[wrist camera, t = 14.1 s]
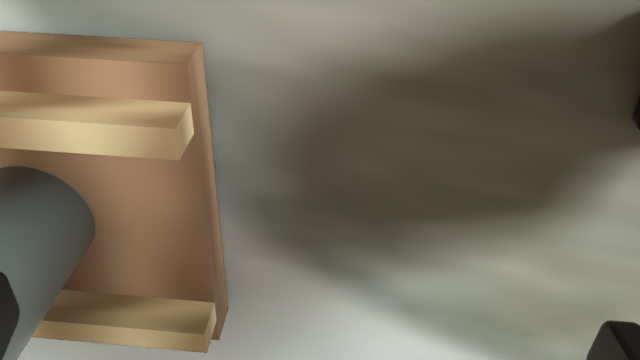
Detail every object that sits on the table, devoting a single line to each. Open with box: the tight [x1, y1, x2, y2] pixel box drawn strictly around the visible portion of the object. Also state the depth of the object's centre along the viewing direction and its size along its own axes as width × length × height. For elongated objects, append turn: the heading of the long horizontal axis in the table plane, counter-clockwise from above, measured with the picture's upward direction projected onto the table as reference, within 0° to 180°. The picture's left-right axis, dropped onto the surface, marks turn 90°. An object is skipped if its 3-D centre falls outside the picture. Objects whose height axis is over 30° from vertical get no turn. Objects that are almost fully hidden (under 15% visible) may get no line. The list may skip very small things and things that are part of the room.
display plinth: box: [0, 31, 228, 353], centre depth 23 cm, size 12×14×4 cm
